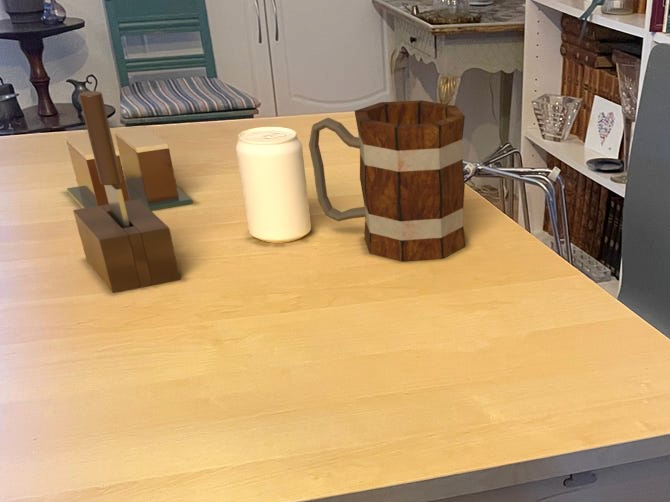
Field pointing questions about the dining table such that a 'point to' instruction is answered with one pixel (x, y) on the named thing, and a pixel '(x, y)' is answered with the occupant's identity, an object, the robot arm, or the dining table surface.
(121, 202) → the knife
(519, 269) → the dining table surface
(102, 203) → the twin slanted wooden posts
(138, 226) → the knife block
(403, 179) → the mug
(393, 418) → the dining table surface
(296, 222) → the beverage can
